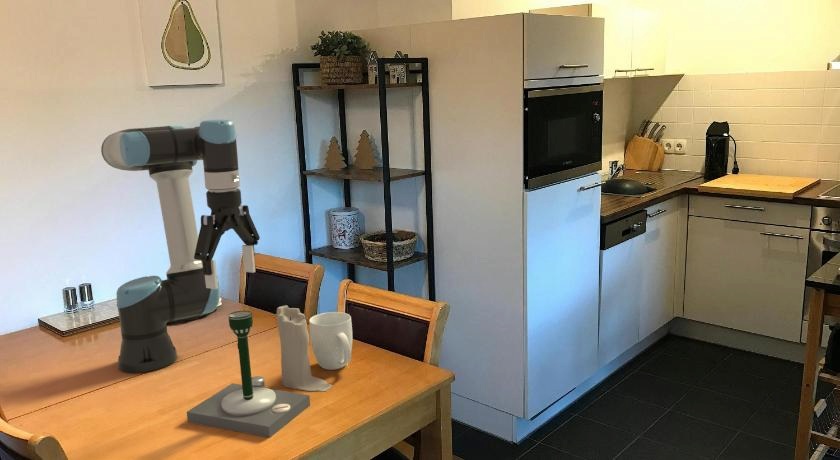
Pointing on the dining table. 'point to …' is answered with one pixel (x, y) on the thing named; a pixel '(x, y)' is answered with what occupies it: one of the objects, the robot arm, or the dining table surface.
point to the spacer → (258, 381)
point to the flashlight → (243, 347)
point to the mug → (331, 339)
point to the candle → (296, 351)
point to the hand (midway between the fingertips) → (231, 279)
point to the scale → (249, 410)
